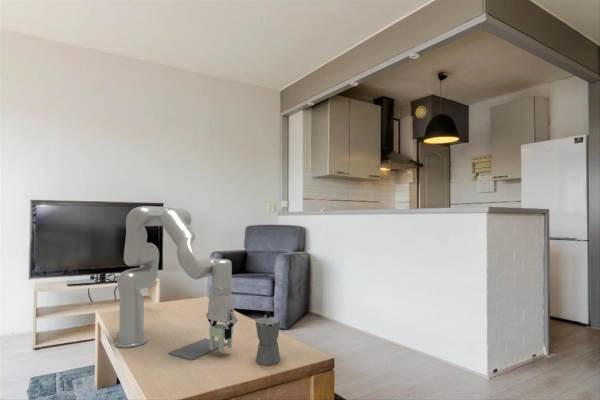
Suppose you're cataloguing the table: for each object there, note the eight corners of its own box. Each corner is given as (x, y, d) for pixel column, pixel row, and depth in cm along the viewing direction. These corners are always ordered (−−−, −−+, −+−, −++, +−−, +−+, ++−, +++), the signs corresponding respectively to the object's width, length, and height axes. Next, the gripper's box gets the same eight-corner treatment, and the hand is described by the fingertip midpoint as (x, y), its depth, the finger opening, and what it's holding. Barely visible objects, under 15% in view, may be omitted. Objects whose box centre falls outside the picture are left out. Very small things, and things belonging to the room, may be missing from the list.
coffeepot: (283, 366, 135) (283, 316, 136) (257, 369, 133) (257, 318, 134) (276, 351, 150) (276, 306, 151) (253, 353, 148) (253, 307, 149)
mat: (168, 354, 148) (168, 352, 148) (205, 339, 165) (205, 338, 165) (191, 360, 142) (191, 359, 142) (227, 344, 159) (227, 343, 159)
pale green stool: (209, 349, 146) (209, 327, 146) (220, 344, 152) (220, 323, 152) (221, 352, 143) (221, 330, 143) (232, 347, 148) (232, 325, 149)
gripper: (198, 290, 149) (198, 336, 149) (232, 295, 140) (231, 344, 140) (212, 287, 156) (211, 330, 155) (244, 291, 147) (244, 338, 146)
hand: (221, 336), depth 147 cm, fingers closed on pale green stool, 6 cm apart
